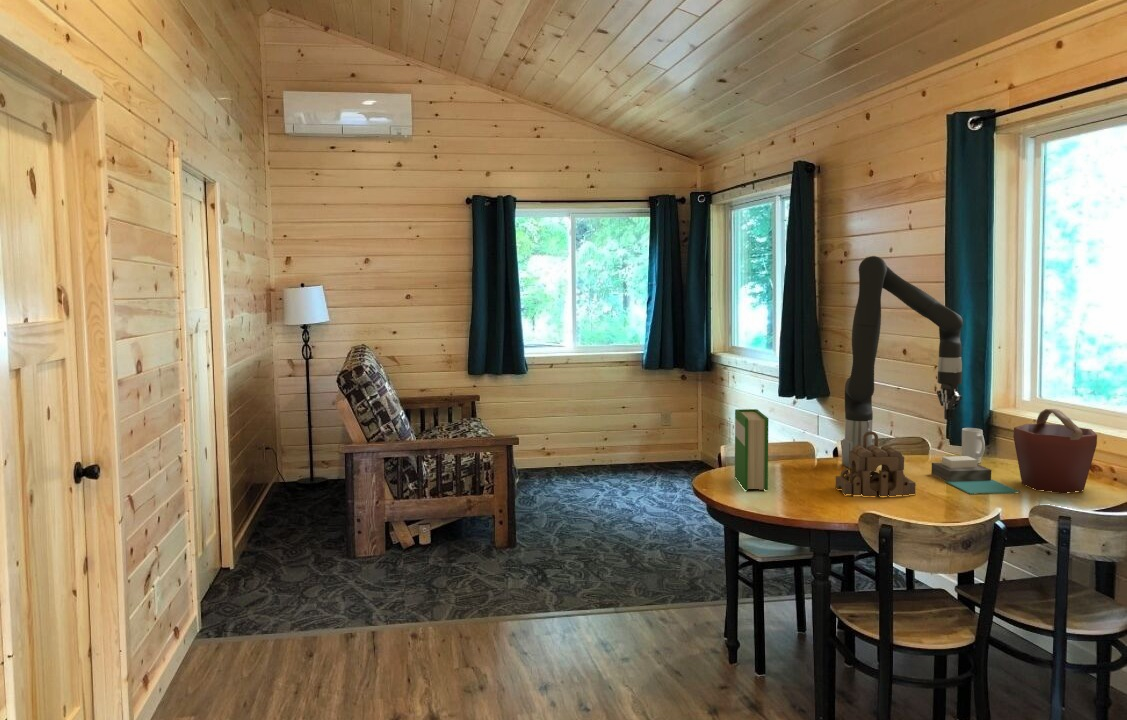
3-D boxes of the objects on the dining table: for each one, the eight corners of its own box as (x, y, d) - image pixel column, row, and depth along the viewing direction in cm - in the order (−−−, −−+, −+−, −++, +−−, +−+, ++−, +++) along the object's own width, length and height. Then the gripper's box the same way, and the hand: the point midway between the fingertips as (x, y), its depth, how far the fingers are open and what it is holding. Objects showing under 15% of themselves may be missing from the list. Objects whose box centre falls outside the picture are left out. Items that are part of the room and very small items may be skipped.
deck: (949, 483, 264) (949, 471, 264) (931, 474, 276) (931, 462, 276) (991, 481, 265) (991, 469, 264) (971, 472, 277) (971, 461, 276)
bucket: (1098, 500, 242) (1102, 418, 239) (1015, 493, 251) (1018, 414, 249) (1084, 480, 264) (1088, 406, 261) (1008, 475, 273) (1011, 402, 271)
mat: (969, 494, 250) (969, 492, 250) (945, 482, 265) (945, 480, 265) (1019, 493, 251) (1019, 491, 251) (992, 480, 266) (992, 479, 266)
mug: (956, 460, 296) (957, 428, 294) (973, 459, 297) (974, 427, 295) (974, 466, 286) (976, 433, 284) (991, 465, 287) (993, 432, 285)
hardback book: (767, 491, 258) (768, 418, 255) (744, 492, 258) (745, 418, 256) (756, 478, 275) (757, 409, 273) (734, 478, 276) (735, 409, 273)
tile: (951, 468, 268) (951, 460, 268) (941, 463, 274) (942, 456, 274) (977, 467, 268) (977, 459, 268) (967, 463, 274) (967, 455, 274)
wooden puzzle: (847, 498, 249) (848, 439, 247) (832, 486, 263) (833, 430, 261) (918, 497, 248) (920, 438, 246) (900, 485, 263) (901, 429, 261)
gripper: (929, 368, 282) (928, 416, 284) (949, 372, 269) (947, 423, 271) (950, 367, 283) (949, 416, 284) (970, 371, 269) (969, 422, 271)
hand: (948, 419), depth 278 cm, fingers closed
